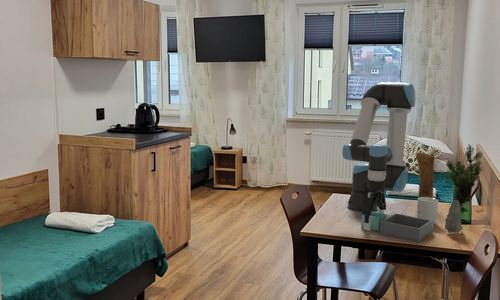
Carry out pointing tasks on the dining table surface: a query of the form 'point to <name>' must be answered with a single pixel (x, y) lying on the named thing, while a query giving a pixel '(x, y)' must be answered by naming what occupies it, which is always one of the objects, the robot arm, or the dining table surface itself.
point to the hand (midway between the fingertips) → (373, 226)
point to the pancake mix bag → (425, 174)
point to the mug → (427, 208)
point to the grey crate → (406, 227)
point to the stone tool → (454, 218)
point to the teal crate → (374, 220)
